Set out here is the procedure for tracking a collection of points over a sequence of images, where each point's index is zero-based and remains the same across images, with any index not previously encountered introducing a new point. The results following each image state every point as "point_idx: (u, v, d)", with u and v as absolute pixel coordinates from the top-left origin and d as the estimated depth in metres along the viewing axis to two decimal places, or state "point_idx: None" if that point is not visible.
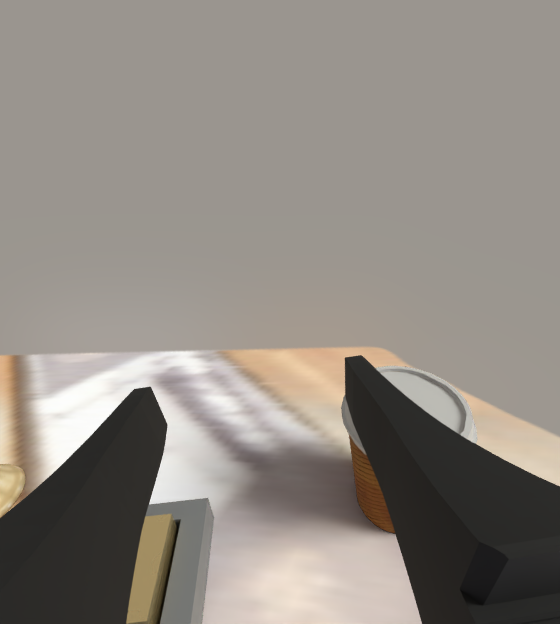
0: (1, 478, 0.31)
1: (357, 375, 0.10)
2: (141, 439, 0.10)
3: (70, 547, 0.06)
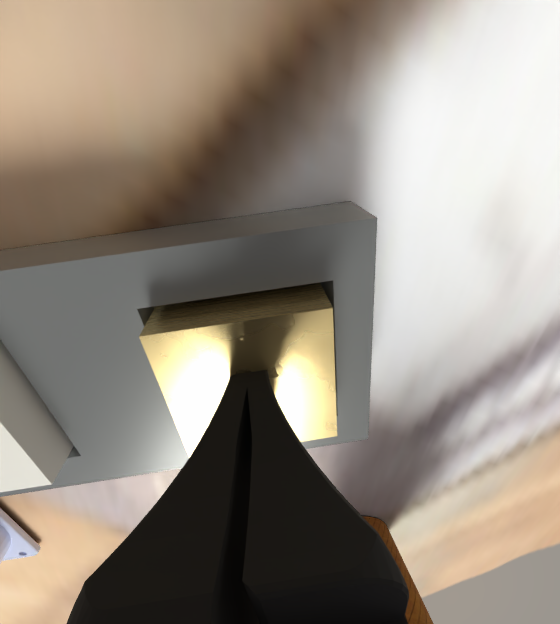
0: None
1: (248, 391, 0.10)
2: (250, 422, 0.10)
3: (236, 521, 0.07)
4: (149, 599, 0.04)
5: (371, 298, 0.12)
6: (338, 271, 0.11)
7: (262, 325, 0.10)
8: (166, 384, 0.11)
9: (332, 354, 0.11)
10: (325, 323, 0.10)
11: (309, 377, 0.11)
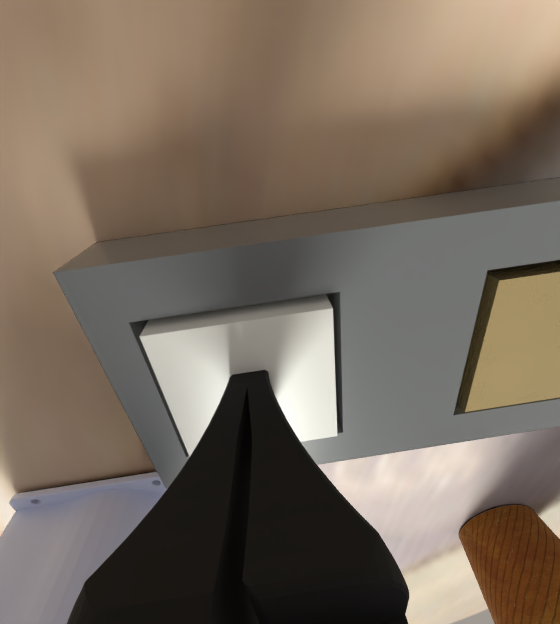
0: None
1: (248, 391, 0.10)
2: (250, 422, 0.10)
3: (236, 521, 0.07)
4: (149, 598, 0.04)
5: None
6: None
7: None
8: (492, 331, 0.11)
9: None
10: None
11: None
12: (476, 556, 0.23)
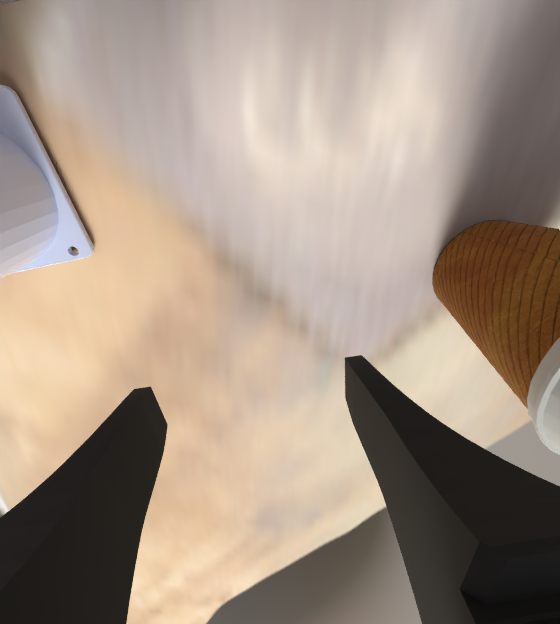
0: None
1: (357, 375, 0.10)
2: (141, 439, 0.10)
3: (70, 547, 0.06)
4: None
5: None
6: None
7: None
8: None
9: None
10: None
11: None
12: (450, 278, 0.18)
